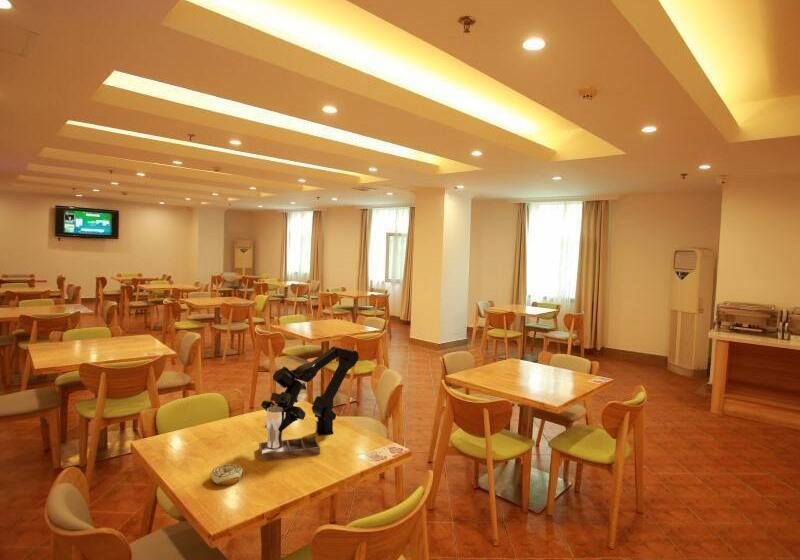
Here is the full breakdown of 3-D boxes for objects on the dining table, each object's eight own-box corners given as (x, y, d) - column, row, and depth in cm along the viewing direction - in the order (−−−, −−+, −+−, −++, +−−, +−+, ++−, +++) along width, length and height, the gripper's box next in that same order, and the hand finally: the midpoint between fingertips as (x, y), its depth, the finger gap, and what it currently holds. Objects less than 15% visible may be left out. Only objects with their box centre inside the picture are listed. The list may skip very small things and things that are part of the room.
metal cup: (287, 445, 183) (288, 408, 182) (275, 452, 177) (276, 414, 175) (273, 441, 186) (274, 405, 185) (261, 447, 180) (262, 410, 178)
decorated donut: (213, 490, 153) (213, 479, 152) (207, 476, 162) (207, 466, 161) (245, 482, 158) (246, 471, 158) (237, 469, 167) (237, 459, 167)
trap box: (315, 442, 192) (315, 436, 192) (319, 453, 181) (320, 447, 181) (259, 448, 185) (259, 442, 184) (260, 460, 174) (260, 454, 174)
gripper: (263, 380, 187) (243, 416, 178) (300, 387, 179) (282, 424, 170) (276, 394, 195) (258, 428, 186) (313, 401, 187) (295, 437, 178)
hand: (272, 429), depth 179 cm, fingers closed on metal cup, 6 cm apart
